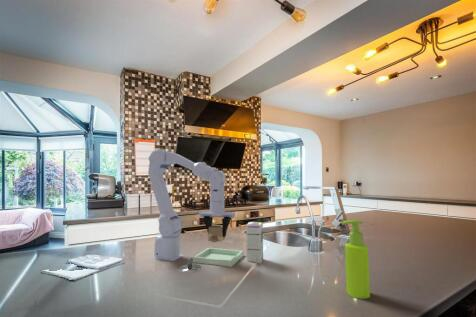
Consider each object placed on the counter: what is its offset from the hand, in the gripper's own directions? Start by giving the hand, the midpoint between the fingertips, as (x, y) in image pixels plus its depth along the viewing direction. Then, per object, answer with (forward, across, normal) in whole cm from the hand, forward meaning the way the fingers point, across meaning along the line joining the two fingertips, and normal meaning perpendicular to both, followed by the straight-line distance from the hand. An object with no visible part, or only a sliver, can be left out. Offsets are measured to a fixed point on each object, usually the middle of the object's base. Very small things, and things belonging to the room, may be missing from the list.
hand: (217, 236), depth 98 cm
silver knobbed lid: (+9, -6, -11) cm, 16 cm away
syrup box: (+10, +14, +4) cm, 18 cm away
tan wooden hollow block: (+1, 0, 0) cm, 1 cm away
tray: (+10, 0, +1) cm, 10 cm away
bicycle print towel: (+10, -45, -18) cm, 49 cm away
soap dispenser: (+10, +46, -18) cm, 50 cm away
